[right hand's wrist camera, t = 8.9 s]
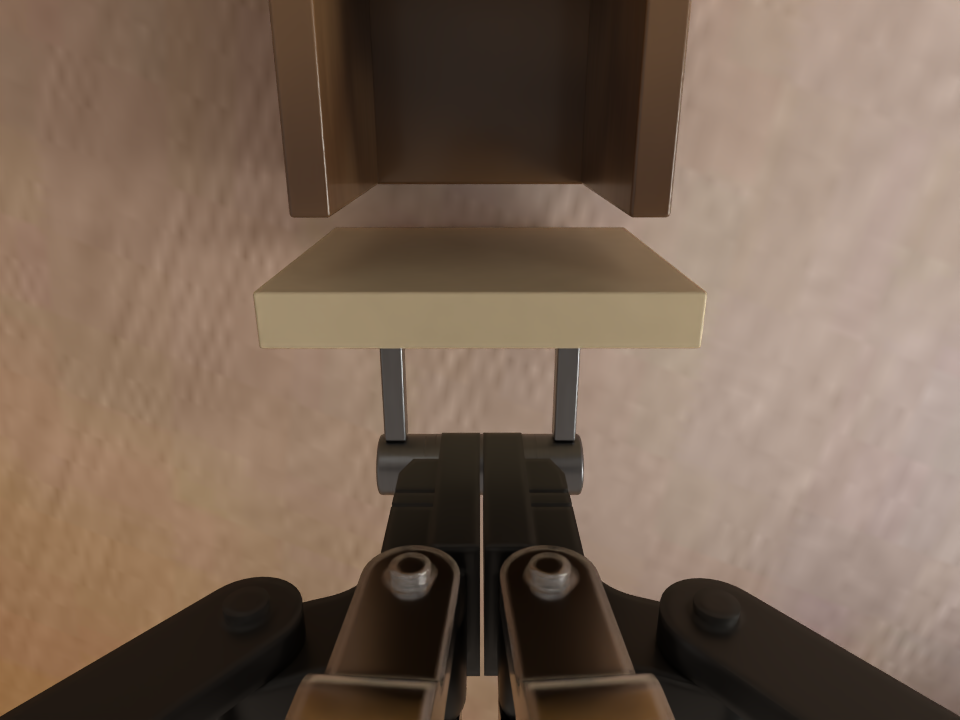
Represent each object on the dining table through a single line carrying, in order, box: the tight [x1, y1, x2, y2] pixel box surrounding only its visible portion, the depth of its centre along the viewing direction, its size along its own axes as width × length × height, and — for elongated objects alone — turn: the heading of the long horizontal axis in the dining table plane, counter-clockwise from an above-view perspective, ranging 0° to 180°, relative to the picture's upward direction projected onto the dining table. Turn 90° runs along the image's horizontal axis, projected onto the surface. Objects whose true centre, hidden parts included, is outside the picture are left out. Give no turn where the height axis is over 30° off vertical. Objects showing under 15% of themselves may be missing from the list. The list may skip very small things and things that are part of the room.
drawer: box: [253, 0, 707, 495], centre depth 15 cm, size 23×9×8 cm, turn 0°
